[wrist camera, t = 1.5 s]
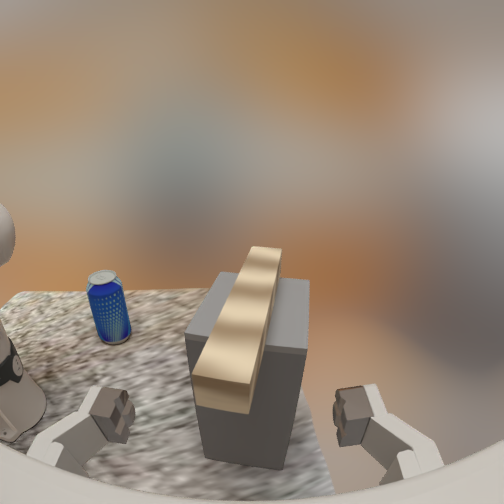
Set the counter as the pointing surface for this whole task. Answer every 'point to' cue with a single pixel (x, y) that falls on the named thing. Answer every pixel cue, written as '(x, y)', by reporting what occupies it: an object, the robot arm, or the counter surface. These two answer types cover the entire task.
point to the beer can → (108, 306)
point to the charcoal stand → (268, 382)
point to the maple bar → (239, 336)
